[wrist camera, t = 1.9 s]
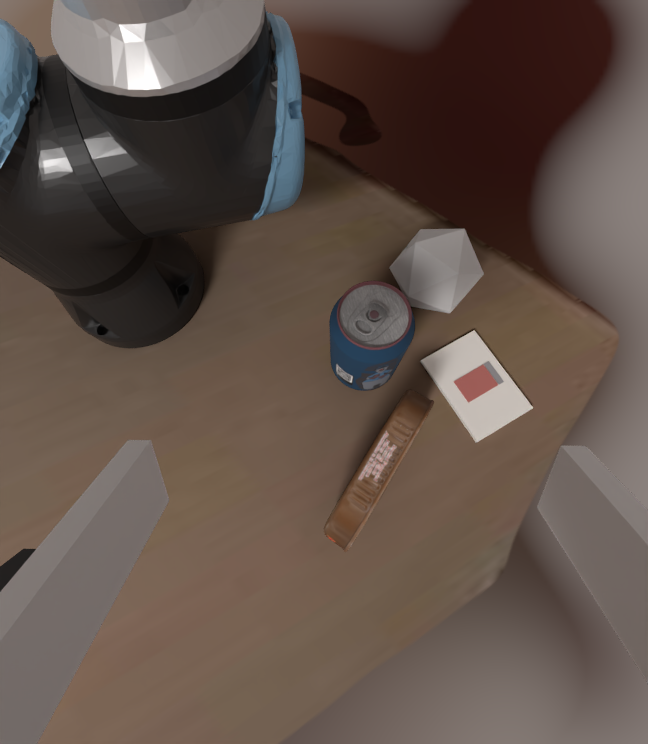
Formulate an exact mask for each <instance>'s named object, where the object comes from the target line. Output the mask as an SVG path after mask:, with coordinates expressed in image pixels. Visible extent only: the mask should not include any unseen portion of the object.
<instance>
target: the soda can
mask: <svg viewBox="0 0 648 744" xmlns="http://www.w3.org/2000/svg"><path fill="white" fill-rule="evenodd" d="M414 331H415V321H414V316H413V313H412V310H411V306H410V304H409V302H408V300H407V298H406V297H405V295H404V294H403V293H402V292H401V291H400V290H399V289H397V288H396V287H394V286H392V285H390V284H388V283H385V282H380V281H367V282H362V283H359V284H357V285H355V286H353V287H351V288H350V289H349V290H348V291H347V292H346V293H345V294H344V295H343V296H342V297H341V298H340V299H339V300H338V301H337V303H336V304H335V306H334V308H333V310H332V312H331V316H330V352H331V365H332V369H333V371H334V373H335V375H336V376H337V378H338V379H339V380H340V381H341V382H342V383H343V384H345V385H346V386H348V387H350V388H353V389H356V390H363V391H366V390H373V389H376V388H378V387H380V386H382V385H384V384H385V383H386V382H387V381H388V380H389V379H390V378H391V377H392V375H393V373H394V371H395V370H396V368H397V366H398V364H399V362H400V361H401V359H402V357H403V355H404V354H405V352H406V350H407V348H408V346H409V345H410V343H411V341H412V339H413V336H414Z"/></svg>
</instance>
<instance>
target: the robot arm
mask: <svg viewBox="0 0 648 744" xmlns="http://www.w3.org/2000/svg"><path fill="white" fill-rule="evenodd" d="M51 36H52V41H53V44H54V47H55V49H56V51H57V53H58V55H52V56H48V57H39V56H37V55H36V54H35V49H34V47H33V46H32V44H31V43H30V42H29V40H28V39H27V38H25V37H24V36H23V35H21V34H20V33H19V32H18V31H17V30H16V29H15V28H14V27H13V26H12V25H10V24H9V23H8V22H6V21H4V20H2V19H0V257H1V258H3V259H5V260H6V261H8V262H9V263H11V264H12V265H14V266H16V267H17V268H19V269H20V270H22V271H24V272H25V273H27V274H28V275H30V276H31V277H33V278H35V279H36V280H38V281H39V282H41V283H43V284H44V285H46V286H47V287H49V288H50V289H52V291H53V292H54V293H55V295H56V296H57V298H58V299H59V300H60V302H61V303H62V305H63V306H64V307H65V309H66V310H67V312H68V313H69V314H70V316H71V317H72V319H73V320H74V321H75V322H76V324H77V325H78V326H80V327H81V328H82V329H83V330H84V331H86V332H87V333H88V334H90V335H92V336H94V337H95V338H97V339H99V340H101V341H102V342H104V343H107V344H109V345H112V346H116V347H122V348H139V347H145V346H149V345H152V344H155V343H158V342H160V341H163V340H165V339H167V338H168V337H170V336H172V335H173V334H175V333H176V332H177V331H179V330H180V329H181V328H182V327H183V326H184V325H185V324H186V323H187V322H188V321H189V320H190V319H191V317H192V316H193V314H194V313H195V311H196V310H197V308H198V306H199V304H200V301H201V298H202V295H203V290H204V274H203V270H202V266H201V264H200V262H199V260H198V258H197V256H196V255H195V253H194V252H193V250H192V249H191V247H190V246H189V244H188V243H187V242H186V241H185V240H184V239H183V238H182V237H181V236H180V235H178V234H177V233H182V232H187V231H192V230H198V229H203V228H209V227H214V226H220V225H225V224H231V223H236V222H242V221H247V220H257V219H259V218H260V217H261V216H264V215H267V214H271V213H274V212H278V211H282V210H285V209H287V208H289V207H291V206H292V205H293V204H294V203H295V202H296V200H297V198H298V197H299V194H300V192H301V188H302V183H303V176H304V161H305V137H304V121H303V117H302V113H301V108H302V102H301V82H300V74H299V68H298V61H297V55H296V49H295V45H294V41H293V38H292V34H291V31H290V28H289V26H288V24H287V23H286V22H285V20H284V19H283V18H282V17H281V16H277V15H273V14H272V13H269V14H267V12H266V10H265V3H264V0H54V5H53V12H52V20H51ZM168 502H169V498H168V494H167V491H166V488H165V485H164V481H163V478H162V475H161V472H160V468H159V465H158V462H157V459H156V455H155V452H154V449H153V445H152V442H151V440H128V441H127V442H126V443H125V444H124V445H123V447H122V448H121V449H120V450H119V451H118V453H117V454H116V455H115V456H114V457H113V458H112V460H111V461H110V462H109V463H108V464H107V466H106V467H105V468H104V469H103V470H102V472H101V473H100V474H99V475H98V476H97V478H96V479H95V480H94V481H93V482H92V483H91V485H90V486H89V487H88V488H87V489H86V491H85V492H84V493H83V494H82V495H81V497H80V498H79V499H78V500H77V501H76V502H75V504H74V505H73V506H72V507H71V508H70V510H69V511H68V512H67V513H66V514H65V516H64V517H63V518H62V519H61V520H60V522H59V523H58V524H57V525H56V526H55V527H54V529H53V530H52V531H51V532H50V533H49V535H48V536H47V537H46V538H45V539H44V541H43V542H42V543H41V544H40V545H39V546H38V548H37V549H23V550H21V551H20V552H19V553H18V554H16V555H15V556H14V557H12V558H11V559H10V560H8V561H7V562H6V563H4V564H3V565H2V566H0V744H37V743H38V741H39V739H40V737H41V735H42V734H43V732H44V730H45V728H46V726H47V724H48V723H49V721H50V719H51V717H52V715H53V713H54V711H55V710H56V708H57V706H58V704H59V702H60V700H61V699H62V697H63V695H64V693H65V691H66V689H67V688H68V686H69V684H70V682H71V680H72V678H73V677H74V675H75V673H76V671H77V669H78V667H79V666H80V664H81V662H82V660H83V658H84V656H85V654H86V653H87V651H88V649H89V647H90V645H91V643H92V642H93V640H94V638H95V636H96V634H97V632H98V631H99V629H100V627H101V625H102V623H103V621H104V620H105V618H106V616H107V614H108V612H109V610H110V609H111V607H112V605H113V603H114V601H115V599H116V597H117V596H118V594H119V592H120V590H121V588H122V586H123V585H124V583H125V581H126V579H127V577H128V575H129V574H130V572H131V570H132V568H133V566H134V564H135V563H136V561H137V559H138V557H139V555H140V553H141V551H142V550H143V548H144V546H145V544H146V542H147V540H148V539H149V537H150V535H151V533H152V531H153V529H154V528H155V526H156V524H157V522H158V520H159V518H160V517H161V515H162V513H163V511H164V509H165V507H166V506H167V504H168ZM537 508H538V510H539V512H540V513H541V515H542V516H543V518H544V520H545V521H546V523H547V524H548V526H549V528H550V529H551V531H552V532H553V534H554V535H555V537H556V539H557V540H558V542H559V543H560V545H561V547H562V548H563V550H564V551H565V553H566V555H567V556H568V557H569V559H570V561H571V563H572V564H573V566H574V567H575V569H576V570H577V572H578V574H579V575H580V577H581V578H582V580H583V582H584V583H585V584H586V586H587V588H588V589H589V591H590V593H591V594H592V596H593V598H594V599H595V601H596V602H597V604H598V605H599V607H600V608H601V610H602V612H603V613H604V615H605V617H606V618H607V620H608V621H609V623H610V625H611V626H612V628H613V629H614V631H615V632H616V634H617V636H618V637H619V639H620V640H621V642H622V644H623V645H624V647H625V648H626V650H627V652H628V653H629V655H630V656H631V658H632V660H633V661H634V663H635V664H636V666H637V668H638V669H639V671H640V672H641V674H642V675H643V677H644V678H645V680H646V682H647V683H648V509H647V508H646V507H645V506H644V505H643V504H642V503H641V502H640V501H639V500H638V499H637V498H636V497H635V496H634V495H633V494H632V493H631V492H630V491H629V490H628V489H627V488H626V487H625V486H624V485H623V484H622V483H621V482H620V481H619V480H618V479H617V477H616V476H615V475H613V474H612V472H611V471H610V470H609V469H608V468H607V467H606V466H605V465H604V464H603V463H602V462H601V461H600V460H599V459H598V458H597V457H596V456H595V455H594V454H593V453H592V452H591V451H590V450H589V449H588V448H587V447H586V446H561V447H560V450H559V452H558V455H557V457H556V460H555V462H554V465H553V468H552V470H551V473H550V476H549V478H548V481H547V483H546V486H545V488H544V491H543V493H542V496H541V499H540V501H539V504H538V506H537Z"/></svg>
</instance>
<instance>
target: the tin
mask: <svg viewBox="0 0 648 744" xmlns="http://www.w3.org/2000/svg"><path fill="white" fill-rule="evenodd" d="M433 404H434V401H433V400H429V399H427V398H425V397H424V396H422V395H420V394H419V393H417V392H415V391H413V390H408V391H406V392H405V394H404V395H403V396H402V398H401V399H400V401H399V403H398V404H397V406H396V407H395V409H394V410H393V412H392V414H391V415H390V417H389V418H388V420H387V422H386V423H385V425H384V426H383V428H382V430H381V431H380V433H379V434H378V436H377V438H376V439H375V441H374V442H373V444H372V446H371V447H370V449H369V450H368V452H367V454H366V455H365V457H364V459H363V460H362V462H361V464H360V465H359V467H358V469H357V470H356V472H355V474H354V476H353V477H352V479H351V481H350V482H349V484H348V486H347V487H346V489H345V491H344V493H343V494H342V496H341V498H340V499H339V501H338V503H337V504H336V506H335V508H334V510H333V511H332V513H331V515H330V517H329V519H328V520H327V522H326V525H325V527H324V533H325V535H326V536H327V537H328V538H329V539H330V540H332V541H333V542H335V543H336V544H337V545H339V546H340V547H341V548H343V550H344V552H347V551H348V549H349V548H350V547H351V546H352V544H353V543H354V541H355V539H356V538H357V536H358V535H359V533H360V532H361V530H362V528H363V527H364V525H365V523H366V522H367V520H368V518H369V516H370V515H371V513H372V512H373V510H374V508H375V506H376V505H377V503H378V501H379V500H380V498H381V496H382V494H383V492H384V491H385V489H386V488H387V486H388V484H389V482H390V480H391V479H392V477H393V475H394V473H395V472H396V470H397V468H398V467H399V465H400V463H401V461H402V460H403V458H404V456H405V455H406V453H407V451H408V449H409V448H410V446H411V444H412V443H413V441H414V439H415V437H416V436H417V434H418V432H419V431H420V429H421V427H422V425H423V423H424V422H425V420H426V418H427V416H428V414H429V412H430V410H431V408H432V406H433Z"/></svg>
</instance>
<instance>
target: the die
mask: <svg viewBox="0 0 648 744" xmlns="http://www.w3.org/2000/svg"><path fill="white" fill-rule="evenodd" d="M389 268H390V270H391V272H392V274H393V276H394V278H395V280H396V281H397V283H398V285H399V287H400V289H401V291H402V293H403V294H404V295H405V297H406V298H407V300H408V302H409V304H410V306H411V307H416V308H422V309H428V310H434V311H439V312H445V313H451V312H452V310H453V309H454V308H455V307H456V306H457V305H458V304H459V302H460V301H461V300H462V299H463V298H464V297H465V295H466V294H467V293H468V292H469V291H470V290H471V288H472V287H473V286H474V285H475V284H476V283H477V282H478V280H479V279H480V278H481V277H482V276H483V275H484V273H483V271H482V268H481V266H480V264H479V261H478V259H477V257H476V254H475V252H474V250H473V247H472V245H471V243H470V240H469V238H468V236H467V233H466V231H465V229H420V230H419V231H418V233H417V234H416V235H415V236H414V238H413V239H412V240H411V241H410V243H409V244H408V245H407V246H406V248H405V249H404V250H403V251H402V253H401V254H400V255H399V256H398V258H397V259H396V260H395V261H394V262H393V264H392V265H391V266H390V267H389Z"/></svg>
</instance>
